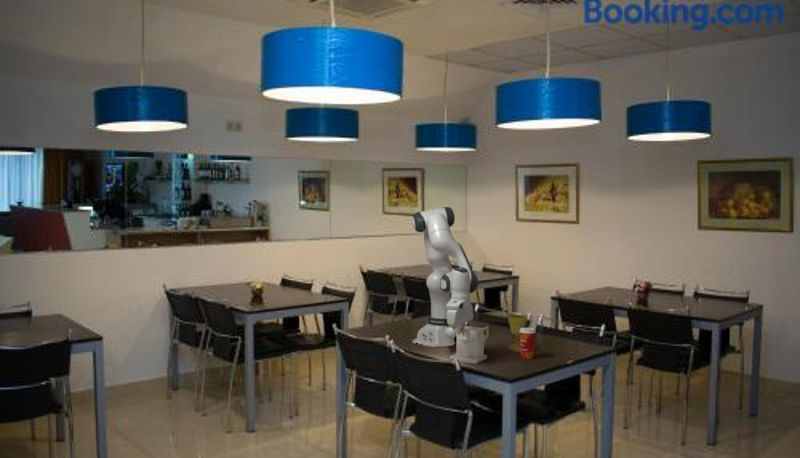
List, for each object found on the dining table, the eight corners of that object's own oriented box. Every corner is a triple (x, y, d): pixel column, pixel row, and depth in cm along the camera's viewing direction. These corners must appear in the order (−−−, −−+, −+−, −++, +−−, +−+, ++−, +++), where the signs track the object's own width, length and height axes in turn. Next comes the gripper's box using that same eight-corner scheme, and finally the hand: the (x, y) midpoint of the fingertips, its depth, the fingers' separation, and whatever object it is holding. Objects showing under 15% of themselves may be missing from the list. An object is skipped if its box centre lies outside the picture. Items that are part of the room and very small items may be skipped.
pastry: (521, 344, 347) (522, 329, 346) (540, 350, 333) (540, 335, 333) (500, 347, 341) (501, 331, 341) (518, 353, 327) (518, 337, 327)
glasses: (488, 336, 315) (488, 325, 314) (476, 341, 303) (476, 330, 303) (457, 333, 323) (457, 322, 323) (444, 338, 312) (444, 327, 311)
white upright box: (490, 358, 316) (491, 328, 315) (477, 365, 303) (478, 334, 303) (456, 354, 325) (457, 324, 324) (443, 360, 313) (443, 329, 312)
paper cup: (517, 356, 321) (517, 327, 321) (532, 355, 322) (532, 327, 321) (521, 360, 314) (521, 330, 313) (537, 359, 314) (537, 330, 314)
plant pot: (526, 332, 379) (526, 315, 378) (526, 335, 368) (526, 318, 368) (508, 331, 380) (508, 314, 380) (507, 335, 370) (508, 317, 370)
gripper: (464, 299, 318) (464, 327, 318) (444, 305, 300) (444, 335, 301) (476, 300, 314) (476, 329, 315) (456, 306, 297) (457, 336, 298)
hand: (460, 332), depth 308 cm, fingers closed on glasses
